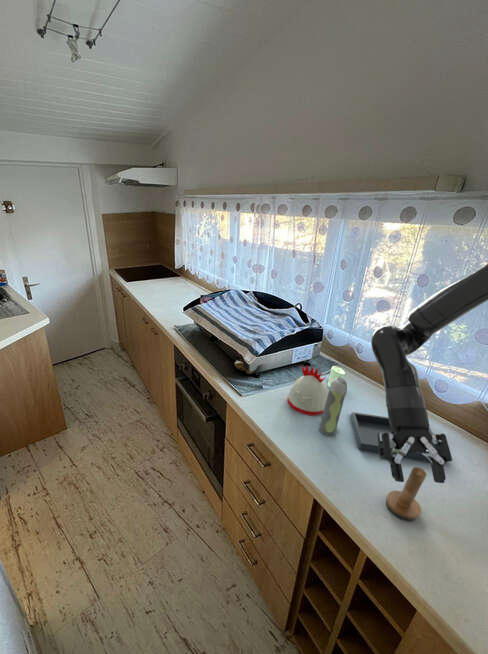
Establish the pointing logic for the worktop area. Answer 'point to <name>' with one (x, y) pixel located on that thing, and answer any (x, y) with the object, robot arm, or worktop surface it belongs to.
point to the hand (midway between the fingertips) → (419, 482)
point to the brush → (407, 497)
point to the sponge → (241, 366)
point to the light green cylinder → (335, 374)
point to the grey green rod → (333, 407)
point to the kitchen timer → (308, 393)
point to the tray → (368, 432)
